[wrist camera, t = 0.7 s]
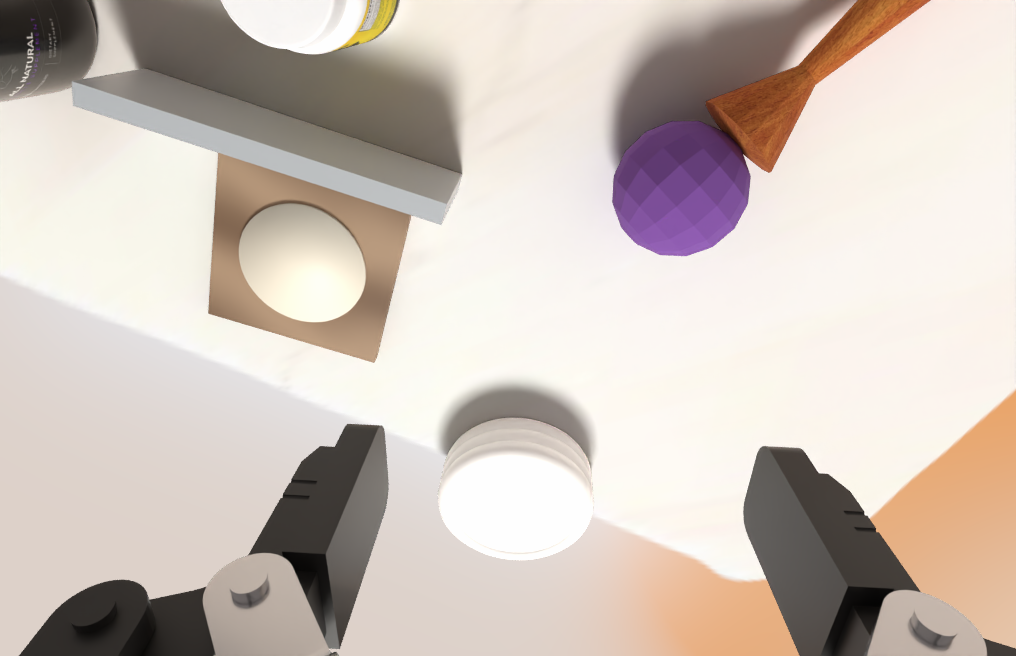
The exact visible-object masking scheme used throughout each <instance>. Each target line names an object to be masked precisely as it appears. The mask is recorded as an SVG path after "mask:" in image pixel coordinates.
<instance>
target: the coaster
mask: <svg viewBox="0 0 1016 656" xmlns="http://www.w3.org/2000/svg"><path fill="white" fill-rule="evenodd" d="M438 504H439V510H440V514H441V516H442V519H443V521H444V523H445V524H446V526H447V527H448V528H449V530H450V531H451V532H452V533H453V534H454V535H455V536H456V537H457V538H458V539H459V540H461V541H462V542H463V543H465V544H466V545H468V546H470V547H471V548H473V549H475V550H477V551H480V552H482V553H484V554H487V555H490V556H493V557H498V558H502V559H510V560H529V559H537V558H541V557H545V556H549V555H552V554H555V553H557V552H559V551H561V550H563V549H565V548H567V547H568V546H570V545H571V544H573V543H574V542H575V541H576V540H577V539H578V538H579V537H580V536H581V535H582V534H583V533H584V531H585V530H586V528H587V527H588V524H589V522H590V520H591V517H592V513H593V508H594V498H593V486H592V474H591V467H590V464H589V461H588V459H587V457H586V455H585V454H584V452H583V450H582V449H581V447H580V446H579V445H578V444H577V443H576V442H575V440H574V439H573V438H571V437H570V436H569V435H567V434H566V433H565V432H563V431H561V430H560V429H558V428H556V427H554V426H552V425H550V424H547V423H544V422H541V421H537V420H533V419H527V418H500V419H495V420H491V421H487V422H484V423H482V424H479V425H477V426H475V427H473V428H472V429H470V430H468V431H467V432H465V433H464V434H463V435H462V436H461V437H460V438H459V439H458V440H457V441H456V442H455V443H454V445H453V446H452V448H451V449H450V451H449V452H448V455H447V457H446V459H445V463H444V469H443V472H442V476H441V482H440V485H439V490H438Z"/></svg>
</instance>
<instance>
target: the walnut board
mask: <svg viewBox="0 0 1016 656" xmlns="http://www.w3.org/2000/svg"><path fill="white" fill-rule="evenodd" d="M410 219H411V215H409V214H406V213H403V212H400V211H397V210H394V209H391V208H388V207H384V206H381V205H378V204H375V203H372V202H369V201H366V200H363V199H360V198H357V197H354V196H350V195H347V194H344V193H341V192H338V191H335V190H332V189H329V188H326V187H323V186H320V185H317V184H313V183H310V182H307V181H304V180H301V179H298V178H295V177H292V176H289V175H286V174H283V173H280V172H276V171H273V170H270V169H267V168H264V167H261V166H258V165H255V164H252V163H249V162H246V161H242V160H239V159H236V158H233V157H230V156H227V155H224V154H221V153H218V168H217V184H216V200H215V216H214V232H213V247H212V263H211V279H210V295H209V311H208V314H212V315H215V316H219V317H222V318H225V319H229V320H232V321H235V322H239V323H242V324H245V325H249V326H252V327H256V328H259V329H262V330H266V331H269V332H272V333H276V334H279V335H282V336H286V337H289V338H293V339H296V340H299V341H303V342H306V343H309V344H313V345H316V346H319V347H323V348H326V349H330V350H333V351H336V352H340V353H343V354H346V355H350V356H353V357H356V358H360V359H363V360H367V361H370V362H373V363H374V362H375V360H376V358H377V355H378V351H379V347H380V342H381V338H382V334H383V330H384V326H385V322H386V318H387V314H388V310H389V305H390V301H391V297H392V293H393V289H394V285H395V281H396V277H397V273H398V268H399V264H400V260H401V256H402V252H403V248H404V244H405V240H406V236H407V231H408V227H409V223H410Z"/></svg>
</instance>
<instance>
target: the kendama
mask: <svg viewBox="0 0 1016 656" xmlns="http://www.w3.org/2000/svg"><path fill="white" fill-rule="evenodd" d="M929 1H930V0H858V1H857V2H856V3H855V4H854V5H853V6H852V7H851V8H850V9H849V10H848V12H847V13H846V14H845V15H844V16H843V17H842V18H841V19H840V20H839V21H838V23H837V24H836V25H835V26H834V27H833V28H832V29H831V30H830V31H829V32H828V34H827V35H826V36H825V37H824V38H823V39H822V40H821V41H820V42H819V43H818V45H817V46H816V47H815V48H814V49H813V50H812V51H811V52H810V53H809V54H808V55H807V57H806V58H805V59H804V60H803V61H802V62H801V63H800V64H799V65H798V66H796V67H794V68H791V69H789V70H786V71H783V72H781V73H778V74H776V75H773V76H770V77H768V78H765V79H762V80H760V81H757V82H755V83H752V84H749V85H747V86H744V87H742V88H739V89H736V90H734V91H731V92H729V93H726V94H723V95H721V96H718V97H716V98H713V99H710V100H708V101H706V107H707V109H708V111H709V113H710V115H711V116H712V117H713V119H714V120H715V122H716V123H717V125H718V126H719V128H720V129H721V130H722V131H721V130H718V129H716V128H714V127H711V126H709V125H707V124H705V123H702V122H700V121H671V122H668V123H666V124H664V125H661V126H659V127H656V128H654V129H652V130H649V131H647V132H645V133H644V134H643V135H642V136H641V137H640V138H639V139H638V140H637V141H636V142H635V143H634V144H633V145H632V146H630V147H629V148H628V149H627V150H626V151H625V153H624V155H623V157H622V160H621V162H620V164H619V166H618V168H617V170H616V173H615V175H614V182H613V200H612V203H613V206H614V208H615V211H616V214H617V217H618V220H619V222H620V225H621V227H622V229H623V230H624V231H625V232H626V234H627V235H628V236H629V237H630V238H631V239H632V240H633V241H634V242H635V243H636V244H638V245H640V246H642V247H644V248H646V249H648V250H651V251H653V252H655V253H657V254H659V255H674V256H688V255H691V254H694V253H696V252H699V251H702V250H705V249H708V248H711V247H713V246H714V245H715V244H717V243H718V242H719V241H720V240H721V239H723V238H724V237H725V236H726V235H727V234H728V233H730V232H731V231H732V230H733V229H734V228H735V226H736V225H737V223H738V221H739V219H740V217H741V215H742V214H743V212H744V210H745V208H746V206H747V204H748V197H749V187H750V177H751V176H750V173H749V170H748V167H747V165H746V162H745V159H744V156H743V154H744V155H745V156H746V157H747V158H749V159H750V160H751V161H752V162H753V163H755V164H756V165H757V166H758V167H760V168H761V169H762V170H764V171H766V172H768V173H770V172H771V171H772V169H773V167H774V165H775V163H776V161H777V159H778V158H779V156H780V154H781V152H782V150H783V148H784V146H785V144H786V142H787V140H788V138H789V136H790V134H791V132H792V130H793V128H794V126H795V124H796V122H797V120H798V118H799V116H800V114H801V112H802V110H803V108H804V106H805V104H806V102H807V100H808V98H809V96H810V94H811V92H812V90H813V89H814V87H815V85H816V84H817V83H819V82H820V81H821V80H823V79H824V78H825V77H827V76H828V75H829V74H831V73H832V72H834V71H835V70H836V69H838V68H839V67H840V66H842V65H843V64H844V63H846V62H847V61H848V60H850V59H851V58H853V57H854V56H855V55H857V54H858V53H859V52H861V51H862V50H863V49H865V48H866V47H868V46H869V45H870V44H872V43H873V42H874V41H876V40H877V39H878V38H880V37H881V36H882V35H884V34H885V33H887V32H888V31H889V30H891V29H892V28H893V27H895V26H896V25H897V24H899V23H900V22H902V21H903V20H904V19H906V18H907V17H908V16H910V15H911V14H912V13H914V12H915V11H916V10H918V9H919V8H921V7H922V6H923V5H925V4H926V3H927V2H929Z"/></svg>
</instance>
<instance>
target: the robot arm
mask: <svg viewBox="0 0 1016 656" xmlns="http://www.w3.org/2000/svg"><path fill="white" fill-rule="evenodd" d="M387 498H388V470H387V457H386V444H385V432H384V428H383V426H379V425H359V424H347V425H346V426H345V428H344V430H343V432H342V434H341V436H340V438H339V440H338V442H337V444H336V446H335V447H325V446H320V447H319V448H318V449H316V450H315V451H314V452H313V453H311V454H310V455H309V456H308V457H306V459H304V460H303V461H302V462H301V464H300V465H299V467H298V469H297V471H296V472H295V474H294V476H293V478H292V481H291V483H289V485H288V486H287V488H286V490H285V492H284V493H283V498H281V499H280V500H279V503H278V504H277V506H276V507H275V509H274V511H273V513H272V515H271V516H270V518H269V520H268V522H267V523H266V525H265V527H264V528H263V530H262V532H261V534H260V536H259V537H258V539H257V541H256V543H255V544H254V546H253V548H252V550H251V551H250V553H249V555H247V556H245V557H242V558H239V559H237V560H235V561H233V562H231V563H229V564H228V565H226V566H225V567H224V568H222V569H221V570H220V571H219V572H217V573H216V574H215V575H214V577H213V578H212V579H211V580H210V582H209V583H208V585H207V587H204V588H201V589H197V590H194V591H189V592H185V593H180V594H175V595H170V596H165V597H161V598H156V599H151V600H149V598H148V595H147V592H146V590H145V589H144V587H142V586H141V585H140V584H138V583H136V582H134V581H130V580H113V581H108V582H103V583H100V584H97V585H94V586H92V587H89V588H87V589H85V590H83V591H81V592H79V593H77V594H76V595H74V596H72V597H71V598H70V599H68V600H67V601H66V602H64V603H63V604H62V605H61V606H60V607H59V608H58V609H56V610H55V612H54V613H53V614H52V615H51V616H50V617H49V618H48V620H47V621H46V622H45V623H44V625H43V626H42V627H41V629H40V630H39V631H38V632H37V634H36V635H35V636H34V637H33V639H32V640H31V641H30V643H29V644H28V645H27V646H26V648H25V649H24V650H23V651H22V653H21V654H20V655H19V656H339V655H338V654H337V652H334V653H331V652H330V650H329V648H332V649H340V646H341V643H342V640H343V637H344V634H345V631H346V628H347V625H348V622H349V619H350V616H351V613H352V610H353V607H354V604H355V601H356V598H357V594H358V592H359V589H360V586H361V583H362V579H363V576H364V573H365V570H366V567H367V564H368V561H369V558H370V555H371V552H372V549H373V546H374V543H375V540H376V537H377V534H378V531H379V528H380V524H381V522H382V519H383V516H384V513H385V509H386V504H387ZM743 512H744V524H745V528H746V532H747V534H748V537H749V539H750V541H751V544H752V546H753V548H754V551H755V553H756V555H757V558H758V560H759V562H760V565H761V567H762V569H763V572H764V574H765V576H766V579H767V581H768V583H769V585H770V588H771V590H772V592H773V595H774V597H775V599H776V602H777V604H778V606H779V609H780V611H781V613H782V616H783V618H784V620H785V623H786V625H787V627H788V629H789V632H790V634H791V637H792V639H793V641H794V644H795V646H796V648H797V651H798V653H799V655H800V656H1016V649H1015V648H1012V647H1009V646H1005V645H1002V644H999V643H996V642H992V641H990V640H987V639H984V638H983V637H982V635H981V634H980V633H979V631H978V630H977V628H976V627H975V626H974V625H973V624H972V623H971V621H969V620H968V619H967V618H966V617H965V616H964V615H963V614H962V613H960V612H959V611H958V610H956V609H955V608H954V607H952V606H950V605H949V604H947V603H945V602H944V601H941V600H940V599H938V598H935V597H933V596H931V595H928V594H925V593H922V592H920V590H919V589H918V587H917V586H916V585H915V583H914V582H913V580H912V579H911V578H910V576H909V575H908V573H907V572H906V570H905V569H904V568H903V566H902V565H901V563H900V562H899V560H898V559H897V558H896V556H895V555H894V553H893V552H892V551H891V549H890V548H889V546H888V545H887V543H886V542H885V541H884V539H883V538H882V536H881V535H880V533H878V532H876V528H875V526H874V525H873V523H872V522H871V521H870V519H869V518H868V516H865V515H864V511H863V509H862V508H861V506H860V505H859V503H858V502H857V501H856V499H855V498H854V496H853V495H852V493H851V492H850V491H849V490H847V489H846V488H845V487H844V486H842V485H841V484H840V483H839V482H837V481H836V480H835V479H834V478H832V477H831V476H830V475H829V474H819V473H818V472H817V470H816V469H815V467H814V466H813V464H812V462H811V461H810V459H809V458H808V456H807V455H806V453H805V452H804V451H803V450H802V449H800V448H788V447H768V446H763V447H761V448H760V449H759V451H758V453H757V456H756V460H755V464H754V468H753V471H752V475H751V479H750V483H749V486H748V490H747V494H746V498H745V502H744V511H743Z"/></svg>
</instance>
